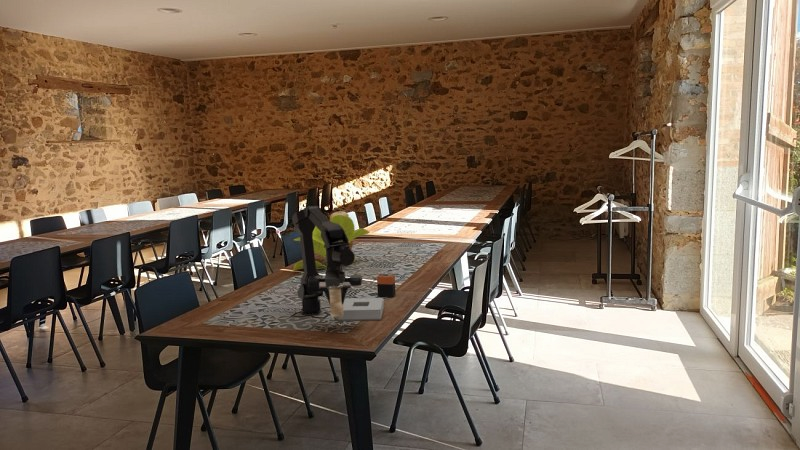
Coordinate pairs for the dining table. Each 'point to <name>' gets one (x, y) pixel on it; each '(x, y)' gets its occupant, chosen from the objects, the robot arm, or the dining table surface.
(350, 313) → the socket block
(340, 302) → the peg
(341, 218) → the artificial plant
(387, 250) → the dining table surface
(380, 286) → the battery
